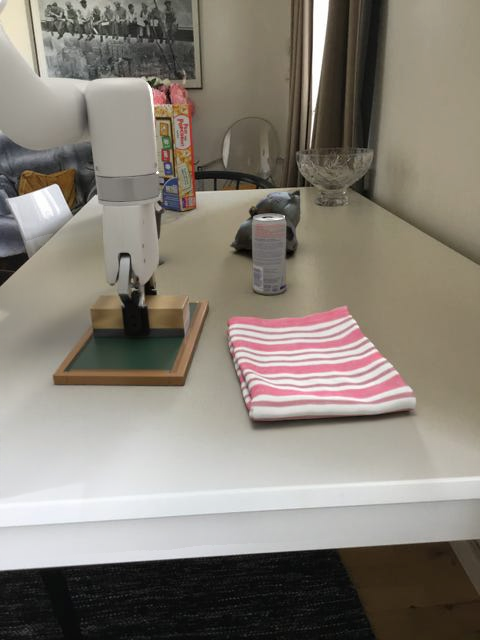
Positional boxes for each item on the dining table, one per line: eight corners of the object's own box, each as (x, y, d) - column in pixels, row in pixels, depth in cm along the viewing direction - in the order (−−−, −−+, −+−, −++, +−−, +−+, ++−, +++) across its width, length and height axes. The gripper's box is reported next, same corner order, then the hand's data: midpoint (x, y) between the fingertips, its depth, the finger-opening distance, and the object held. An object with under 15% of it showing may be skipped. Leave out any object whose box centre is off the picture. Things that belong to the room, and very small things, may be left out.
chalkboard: (54, 384, 65) (52, 375, 64) (112, 308, 87) (111, 300, 86) (183, 385, 64) (183, 376, 63) (209, 307, 86) (208, 300, 85)
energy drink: (281, 283, 95) (281, 212, 91) (289, 294, 90) (290, 219, 86) (250, 286, 94) (248, 214, 90) (256, 296, 90) (255, 221, 85)
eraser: (93, 337, 74) (89, 308, 72) (104, 322, 78) (100, 295, 77) (184, 337, 73) (182, 308, 71) (190, 322, 78) (188, 294, 76)
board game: (197, 208, 156) (191, 103, 145) (180, 212, 151) (173, 104, 141) (151, 200, 169) (142, 103, 158) (134, 203, 165) (124, 104, 154)
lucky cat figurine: (221, 247, 117) (237, 183, 117) (271, 263, 122) (286, 201, 122) (252, 242, 103) (269, 169, 104) (307, 260, 108) (323, 190, 109)
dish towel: (347, 326, 78) (348, 302, 77) (418, 416, 56) (422, 385, 55) (224, 335, 76) (223, 311, 75) (250, 432, 55) (249, 401, 53)
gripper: (116, 178, 77) (130, 303, 84) (75, 202, 61) (96, 354, 68) (171, 177, 76) (180, 303, 83) (143, 201, 60) (157, 354, 67)
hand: (142, 324), depth 75 cm, fingers closed on eraser, 5 cm apart
